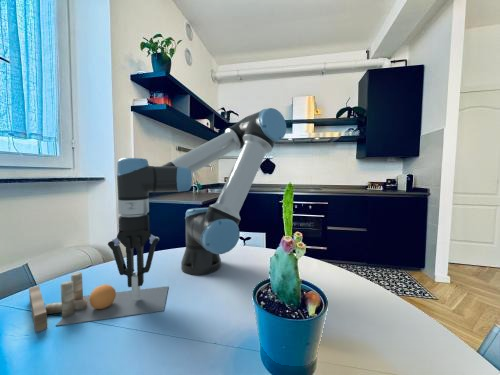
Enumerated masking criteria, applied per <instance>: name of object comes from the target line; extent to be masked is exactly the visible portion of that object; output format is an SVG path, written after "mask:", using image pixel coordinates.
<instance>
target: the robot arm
mask: <svg viewBox="0 0 500 375" xmlns="http://www.w3.org/2000/svg"><path fill="white" fill-rule="evenodd" d="M286 133H287V122H286V119H285V117H284V116H283V114H282V112H280V111H279V110H278V109H276V108H274V107H273V108H272V107H267V108H264V109H262V110H260V111H257V112H255V113H253V114H249V115H248V116H245V117H244V118H242V119H241V120H238V122H236V123H234V124H233V125H232V126H229V127H228V128H226V129H225V130H224V133H222V134H220V135H218V136H217V137H214V138H212V139H210V140H209V141H207V142H205V143H203V144H201V145H199V146H197V147H195V148H193V149H191V150H189V151H186V152H185V153H183V154H182V155H180V156H177V157H176V158H174V159H171V160H169V161H168V162H166V163H164V164H162V165H160V166H159V165H158V166H154V165H149V161H148V159H146V158H139V157H138V158H137V157H122V158H120V159H119V160H117V163H116V164H117V167H116V168H117V169H116V170H117V171H116V181H117V206H118V207H117V211H118V215H119V217H118V233H117V234H116V237H114V238H113V239H111V240H110V241H108V243H107V246H108V247H109V249H111V251H112V254H113V257H114V260H115V264H116V266H117V270H118V273H119V275H120V276H126V278H127V287H128V288H131V290H132V300H135V299H138V298H139V295H140V289H141V287H142V286H143V284H144V282H145V277H144V276H145V274H146V273H149V272H150V269H151V266H152V263H153V259H154V255H155V249H156V246H157V244H158V243H159V241H160V236H155V235H153V234H152V231H151V229H150V215H149V214H148V213H149V212H150V197H149V193H165V192H166V193H171V192H172V193H173V192H178V193H180V192H188V191H189V190H190V189H191V188H192V185H193V184H192V183H193V175H192V174H194V173H196V172H197V171H199V170H201V169H203V168H204V167H206V166H208V165H210V164H211V163H213V162H215V161H217V160H218V159H220V158H222V157H224V156H226V155H227V154H229V153H231V152H233V151H235V152H237V151H240V152H239V154H238V156H237V158H236V160H235V162H234V165H233V166H232V168H231V171H230V173H229V175H228V177H227V179H226V181H225V183H224V185H223V188H222V189H221V191H220V194H219V196H218V198H217V200H216V202H215V203H213V204H209V206H208V207H200V208H199V207H195V208H189V209H186V212H185V217H184V219H185V249H184V253H183V256H182V259H181V262H180V263H181V264H180V269H181V271H182V272H184V273H185V274H189V275H197V276H199V275H207V274H212V273H214V272H216V271H218V270H219V269H220V268H221V266H222V259H221V257H220V256H221V255H223V254H226V253H229V252H230V251H232V250H233V249H234V248H235V247H236V245H237V244H238V243H239V239H240V235H241V234H240V228H239V224H240V222H241V216H240V211H241V209H242V207H243V205H244V202H245V200H246V198H247V196H248V194H249V191H250V189H251V186H253V182H254V180H255V178H256V176H257V174H258V171H259V169H260V168H261V165H262V163H263V161H264V158H265V156H266V154H268V153H271V152H272V150H273V148H274V146H275V143H276V142H279V141H281V140H282V139H283V138H284V137H285V136H286ZM148 240H149V244H150V246H149V250H148V254H147V258H146V262H145V263H144V260H145V259H144V249H145V248H144V246H145V245H146V243H147V242H148ZM120 243H121V244H122V245H123V246H124V247H125V255H126V258H125V259H126V262H125V259H124V256H123V253H122V248H121V246H120ZM134 249H135V251H136V272H134V271H135V266H134V265H135V262H134V260H135V259H134V258H135V256H134Z"/></svg>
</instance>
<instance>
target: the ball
mask: <svg viewBox="0 0 500 375" xmlns="http://www.w3.org/2000/svg"><path fill="white" fill-rule="evenodd" d="M116 292H117V291H116V288H114V287H113V286H112V285H109V284H101V285H99V286H96V287H95V288H94V289H93V290H92V292H90V298H89V302H90V305H91V306H92V307H93V308H95V309H104V308H107V307H108V306H110V305H111V304H112V303H113V301H114V300H115V297H116Z"/></svg>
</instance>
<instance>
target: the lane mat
mask: <svg viewBox="0 0 500 375" xmlns="http://www.w3.org/2000/svg"><path fill="white" fill-rule="evenodd" d="M168 290H169V286H159V287H151V288H150V287H149V288H140V295H139V298H138V299H135V300H132V289H131V290H124V291H123V290H122V291H116V297H115V300H114V301H113V303H112V304H111V305H110V306H108V307H107V308H104V309H95V308H93V307H92V306H91V305H90V302H89V298H90V295H91V294H90V295H83V299H87V306H86V307H85V309H80V310H74V314H73V315H72V316H70V317H66V318H62V317H61V319H60V320H59V321H58V322H57V323H56V324H55V326H56V327H60V326H67V325H75V324H82V323H89V322H96V321H103V320H111V319H115V318H116V319H117V318H122V317H123V318H125V317H130V316H137V315H138V316H139V315H145V314H153V313H159V312H164V310H165V307H166V302H167V301H166V300H167V295H168V292H167V291H168Z"/></svg>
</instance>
